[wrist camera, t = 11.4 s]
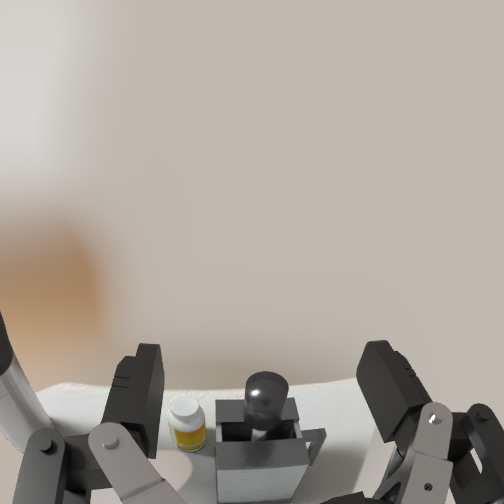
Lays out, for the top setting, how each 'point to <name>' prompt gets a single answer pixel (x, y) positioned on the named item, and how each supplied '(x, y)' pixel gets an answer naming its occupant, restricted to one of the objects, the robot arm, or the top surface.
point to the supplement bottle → (186, 423)
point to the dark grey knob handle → (264, 402)
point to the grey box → (261, 456)
